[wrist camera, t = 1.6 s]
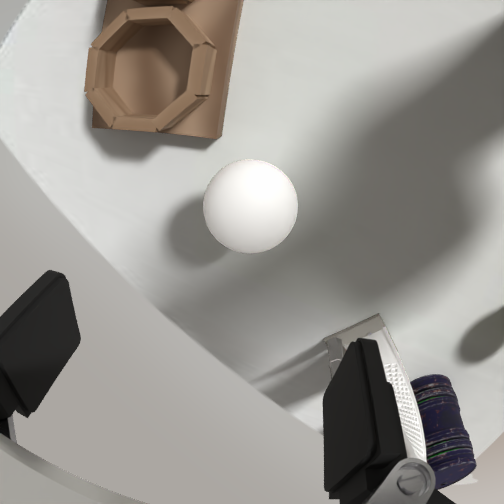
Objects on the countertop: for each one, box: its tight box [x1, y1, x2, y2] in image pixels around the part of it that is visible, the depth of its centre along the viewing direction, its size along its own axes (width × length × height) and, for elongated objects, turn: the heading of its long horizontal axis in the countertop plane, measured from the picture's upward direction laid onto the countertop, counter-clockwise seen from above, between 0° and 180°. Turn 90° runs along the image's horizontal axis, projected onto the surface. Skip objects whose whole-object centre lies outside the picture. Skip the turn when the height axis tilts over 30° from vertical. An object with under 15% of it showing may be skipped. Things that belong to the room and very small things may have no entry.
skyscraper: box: [324, 314, 427, 463], centre depth 23 cm, size 8×8×28 cm
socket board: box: [84, 0, 244, 139], centre depth 19 cm, size 12×22×5 cm, turn 171°
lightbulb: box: [203, 159, 298, 254], centre depth 23 cm, size 6×6×11 cm
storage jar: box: [410, 374, 476, 490], centre depth 33 cm, size 10×10×15 cm
